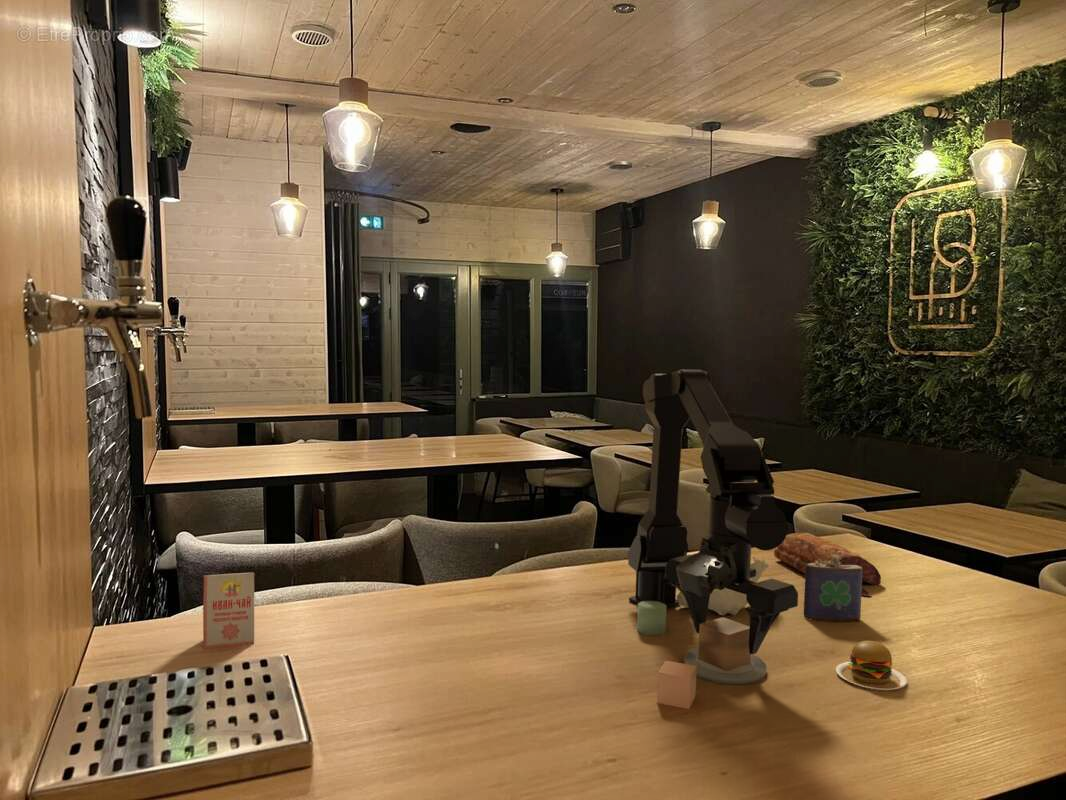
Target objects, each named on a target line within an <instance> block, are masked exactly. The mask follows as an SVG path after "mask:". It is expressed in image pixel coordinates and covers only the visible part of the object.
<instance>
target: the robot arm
mask: <svg viewBox="0 0 1066 800" xmlns="http://www.w3.org/2000/svg"><path fill="white" fill-rule="evenodd" d="M710 379H711V377H710V375H709V372H707V371H704V370H703V369H679V370H675V371H672V372H671V373H652V374H651V375H650V377H649V379H646V380H645V381H644V383H643V386H642V387H643V388H642V397H643V400H644V409H645V412H646V414H647V415H648V417H649V419H650V421H651V423H652V424H653V432H652V448H651V449H652V450H651V466H650V467H651V468H650V482H649V486H650V487H649V498H648V499H649V500H648V510H647V511H646V512H645V514H644V515H643V516H642V517H641V519H640V521H639V522H638V525H637V532H636V536H635V537H634V539H633V541H632V544H631V545H630V547H629V549H628V551H627V563H628V565H629V567H631V568H632V570H634V571H636V572H635V595H633V596H630V597H628V600H629V601H630V602H632V603H634V604H637V605H638V603H640V602H642V601H657V602H661V603H663V604H665V605H666V608H670V607H673V606H677V605H680V604H679V602H678V600H677V595H676V594H677V590H678V591H679V592H682V593H683V595H684V596H685V599H686V601H687V604H688V607H687V608H688V611H689V613H690V617H691V620H692V623H693V626H694V630H695V632H696V633H697V634H699V625H700V624H701V623H705V622H707V617H708V610H709V609H708V605H709V599H710V594H711V593H712V592H713V590H714V589H719V590H723V589H724V588H727V589H730V590H733V591H736V592H739V593H743V594H746V600H747V602H748V603H747V604H748V605H749V606H745V607H744V610H745V612H746V614H747V615H748V618H749V653H750V654H753V655H756V654H757V653H758V651H759V649H760V647H761V645H762V644H763V642H764V640H765V639H766V637H767V635H768V633H769V631H770V629H771V627H772V626H773V624H774V623H775V621H776V619H777V618H778V617H779V615H780V613H783V612H787V611H789V609H792V608H796V607H798V604H799V603H798V602H799V601H798V600H799V593H798V590H797V588H796V587H795V585H794V584H792V583H787V582H784V581H781V580H779V579H775V578H769V579H765V580H760V581H757V582H753V581H749V580H750V578H751V577H755V576H756V569H753V568H750V562H751V561H752V560H751V557H752V549H754V548H756V549H757V550H761V551H772V550H775V549H777V547H778V546H779V545H780V544H781V543H782V542H783V541H784V539H785V538H786V535H788V533H789V532H788V530H789V522H788V520H787V517H786V515H785V513H784V511H782V510H781V509H780V508H779V507H777V506H775V504H776V503H775V502H776V501H775V499H776V498H775V496H774V495H775V489H774V483H775V481H774V478H773V476H772V474H771V471H770V469H769V466H768V464H767V461H766V457H765V454H764V451H762V449H761V447H760V445H759V444H758V442H756V440H755V439H754V438H753V436H751V434H750V433H749V432H748V431H745V430H743V429H741V428H739V427H738V426H736V425H735V424H734V423H733V421H732V419H730V416H729V414H728V412H727V411H726V409H725V408H724V406H723V404H722V402H721V401H720V399H719V397H718V395H717V393H716V392H715V389H714V388H713V385H711V380H710ZM689 421H691V422H692V424H693V426H694V428H695V430H696V432H697V435H698V437H699V438H700V439H701V442H702V445H703V448H702V451H701V454H700V457H699V459H700V461H701V466H702V467H701V468H702V470H703V473H704V474H705V477H706V478H707V481H708V483H709V485H707V487H705V492H706V493H707V494H710V495H709V496H710V497H709V519H708V520H709V521H708V536H705V537H701V538H702V539H701V541H700V549H699V552H697V553H693V554H688V550H689V543H688V539H687V538H688V537H687V536H688V529H687V527H686V526H685V525H684V524H683V522H682V520H681V518H680V517H679V515H678V508H679V507H678V506H679V503H678V502H679V491H680V489H679V488H680V473H681V472H680V471H681V456H682V444H683V443H682V440H683V429H684V427H685V426H686V424H687V423H688V422H689ZM755 481H756V482H755ZM737 584H738V585H737Z"/></svg>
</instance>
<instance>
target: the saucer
mask: <svg viewBox="0 0 1066 800" xmlns="http://www.w3.org/2000/svg"><path fill="white" fill-rule="evenodd" d="M698 651H699V647H697V648H694V649H691V650H689V651H687V653H686V654H685V655H684V658H683V659H684V660H683V662H684V663H683V664H688V665H694V666H697V668H696V678H697V677H698V678H699V679H703V680H705V681H709V682H712V683H717V684H725V685H749V684H753V683H757V682H760V681H761V680H763V679H764V678H765V677H766V675H767V665H766V663H765V661H764V660H762V659H761V658H760V657H758V656H757V655H756V654H751V661H750V663H749V664H746V665H744V666H741V667H738V668H735V669H732V670H729V671H725V670H722V669H720V668H718V667H715V666H713V665H711V664H709V663H706V662H704V661H702V660H699V659H698Z"/></svg>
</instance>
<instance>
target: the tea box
mask: <svg viewBox="0 0 1066 800" xmlns="http://www.w3.org/2000/svg"><path fill="white" fill-rule="evenodd" d="M202 600H203V601H202V602H203V603H202V605H203V606H202V618H203V621H202V624H203V625H202V627H203V628H202V632H203V633H202V634H203V637H202V638H203V640H202V641H203V645H202V647H203V650H204V649H205V650H206V649H214V648H224V647H226V648H227V647H236V646H245V645H255V572H253V571H252V572H239V573H223V574H207V575H205V574H204V575H203V599H202Z"/></svg>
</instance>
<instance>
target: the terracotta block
mask: <svg viewBox="0 0 1066 800" xmlns="http://www.w3.org/2000/svg"><path fill="white" fill-rule="evenodd" d="M696 668H697V666H694V665H688V664H684V663H681V662H676V661H669V660H665V661H664V662H663V664H662V666H661V667H660V669H659V670H658V672H657V695H656V703H657V704H661V705H667V706H672V707H675V708H676V707H677V708H680V709H681V708H682V709H686V710H687V709H688V710H690V708H691V707H692V704H693V701H694V700H695V698H696V689H697V676H696Z"/></svg>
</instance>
